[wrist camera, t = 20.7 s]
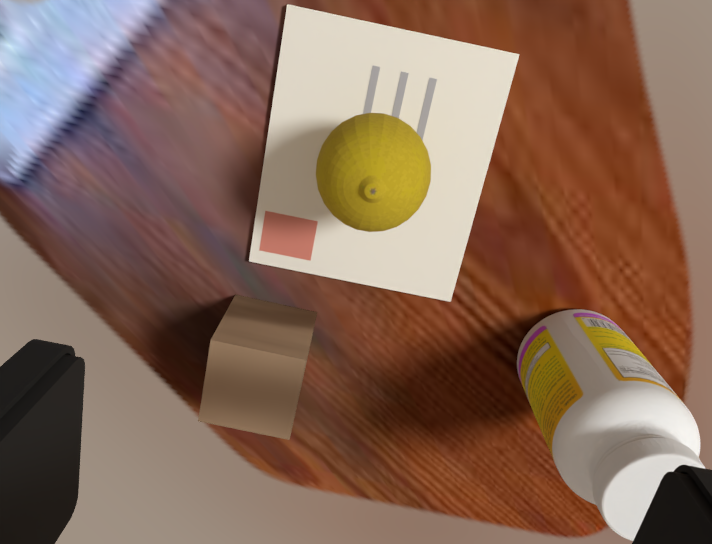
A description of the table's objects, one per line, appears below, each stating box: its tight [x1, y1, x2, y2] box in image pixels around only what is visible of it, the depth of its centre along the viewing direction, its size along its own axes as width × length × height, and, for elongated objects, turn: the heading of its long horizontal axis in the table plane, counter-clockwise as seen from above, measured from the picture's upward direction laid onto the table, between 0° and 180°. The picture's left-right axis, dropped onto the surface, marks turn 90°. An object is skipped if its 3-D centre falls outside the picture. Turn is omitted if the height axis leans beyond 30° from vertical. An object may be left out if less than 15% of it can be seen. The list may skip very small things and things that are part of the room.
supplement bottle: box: [517, 309, 706, 541], centre depth 32 cm, size 7×7×13 cm
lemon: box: [316, 113, 431, 232], centre depth 30 cm, size 6×6×8 cm
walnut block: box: [198, 295, 317, 440], centre depth 36 cm, size 5×5×6 cm
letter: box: [249, 4, 519, 302], centre depth 34 cm, size 14×12×1 cm
